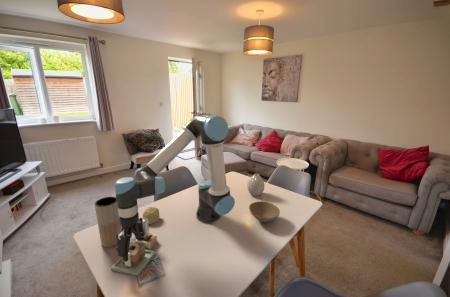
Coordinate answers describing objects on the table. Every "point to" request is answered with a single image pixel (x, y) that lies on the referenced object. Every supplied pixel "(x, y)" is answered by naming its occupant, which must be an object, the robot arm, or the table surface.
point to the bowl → (264, 211)
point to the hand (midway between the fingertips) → (134, 258)
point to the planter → (108, 220)
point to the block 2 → (150, 241)
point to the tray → (133, 270)
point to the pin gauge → (146, 229)
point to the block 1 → (135, 253)
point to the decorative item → (151, 214)
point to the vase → (255, 185)
